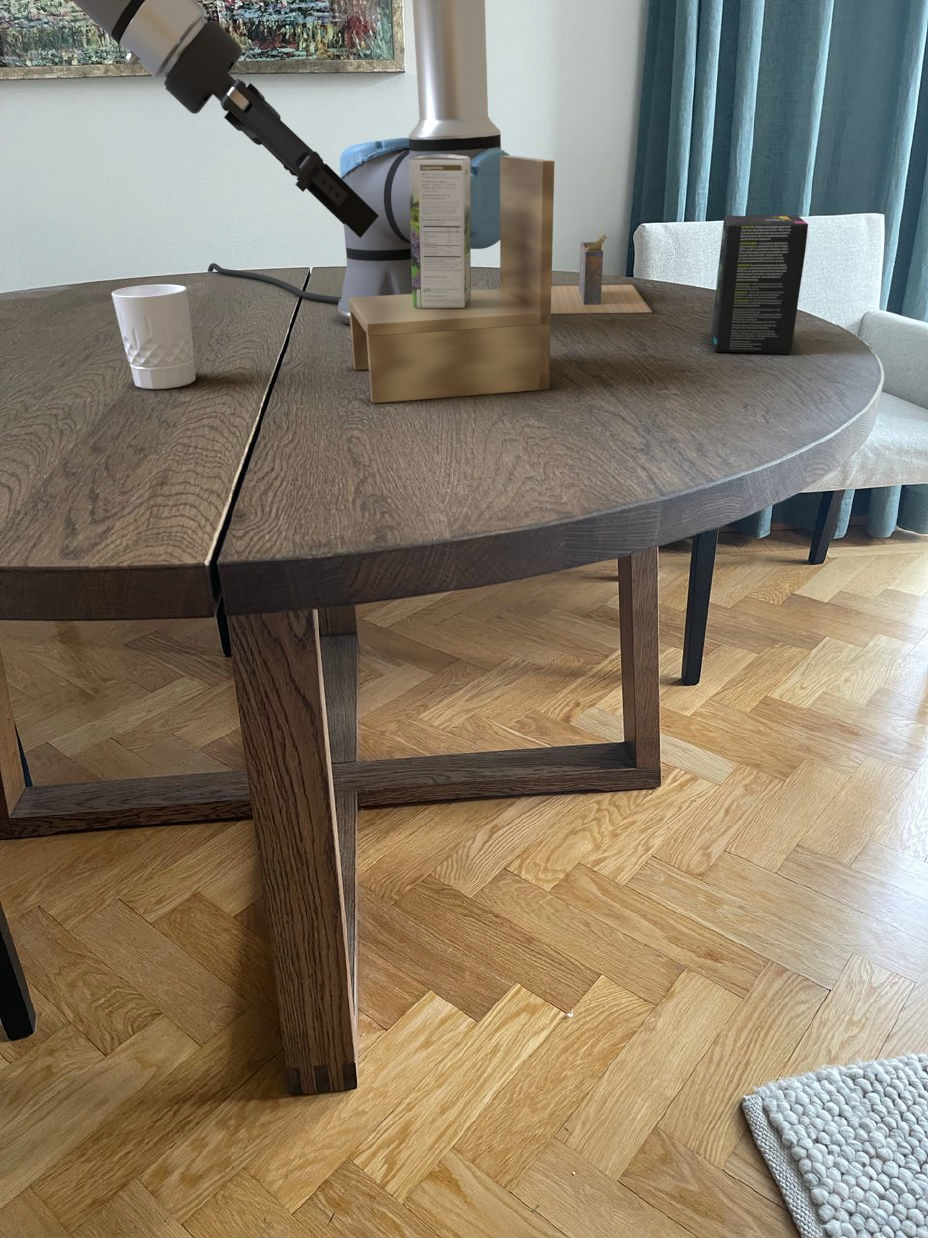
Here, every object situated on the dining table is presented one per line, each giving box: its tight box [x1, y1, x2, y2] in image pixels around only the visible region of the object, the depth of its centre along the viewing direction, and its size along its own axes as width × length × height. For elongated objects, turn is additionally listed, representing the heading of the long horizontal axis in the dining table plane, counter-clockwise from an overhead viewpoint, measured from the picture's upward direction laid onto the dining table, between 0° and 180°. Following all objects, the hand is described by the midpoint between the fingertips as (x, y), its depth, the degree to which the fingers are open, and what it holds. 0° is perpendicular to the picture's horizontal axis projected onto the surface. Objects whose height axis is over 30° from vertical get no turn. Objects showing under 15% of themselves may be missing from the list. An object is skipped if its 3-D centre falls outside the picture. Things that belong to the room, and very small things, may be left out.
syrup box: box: [409, 154, 472, 308], centre depth 97 cm, size 6×6×14 cm
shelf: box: [349, 155, 555, 404], centre depth 99 cm, size 19×16×22 cm
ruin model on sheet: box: [551, 234, 653, 315], centre depth 145 cm, size 25×16×10 cm, turn 178°
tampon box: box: [710, 214, 809, 355], centre depth 113 cm, size 11×9×15 cm
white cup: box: [111, 284, 196, 390], centre depth 103 cm, size 8×8×10 cm
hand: (360, 220), depth 95 cm, fingers open, 13 cm apart
